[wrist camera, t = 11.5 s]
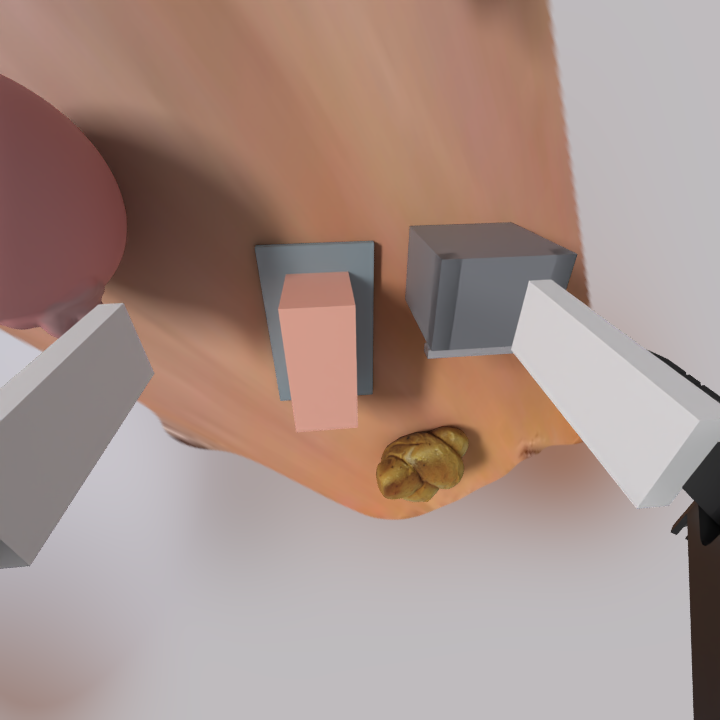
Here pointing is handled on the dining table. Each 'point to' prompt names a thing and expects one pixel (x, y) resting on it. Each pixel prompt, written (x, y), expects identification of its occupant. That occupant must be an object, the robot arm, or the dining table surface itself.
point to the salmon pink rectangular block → (320, 349)
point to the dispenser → (476, 283)
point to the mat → (320, 260)
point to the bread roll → (422, 464)
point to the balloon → (53, 216)
